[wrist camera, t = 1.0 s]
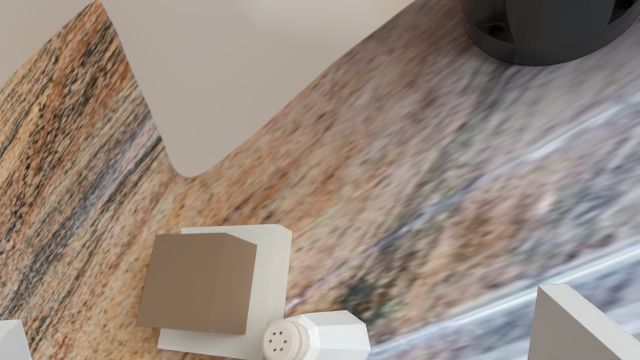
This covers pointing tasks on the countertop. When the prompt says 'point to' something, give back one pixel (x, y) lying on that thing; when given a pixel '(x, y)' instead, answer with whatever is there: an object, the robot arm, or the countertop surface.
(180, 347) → the stand
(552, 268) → the countertop surface
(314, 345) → the salt shaker
